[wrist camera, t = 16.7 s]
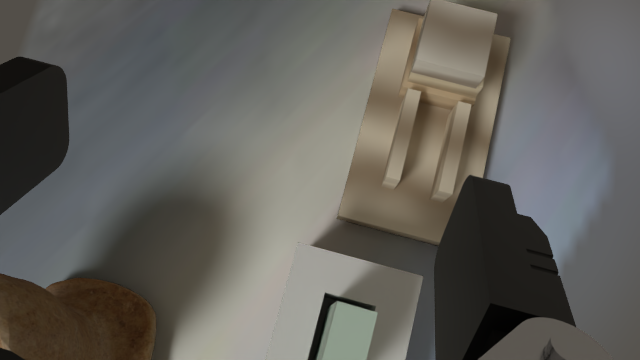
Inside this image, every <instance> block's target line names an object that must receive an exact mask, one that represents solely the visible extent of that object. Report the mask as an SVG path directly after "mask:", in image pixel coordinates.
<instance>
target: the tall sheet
mask: <svg viewBox="0 0 640 360" xmlns="http://www.w3.org/2000/svg"><path fill="white" fill-rule="evenodd" d="M377 314H378V312H374V311H370V310H367V309H363V308H360V307H356V306H353V305H349V304H346V303H342V302H339V301H337V302H335V303H333V304H332V305H330V306H328V307H327V311H326V315H325V318H324V322H323V326H322V330H321V333H320V337H319V341H318V345H317V348H316V352H315V356H314V360H366V359H367V355H368V351H369V347H370V343H371V339H372V334H373V330H374V326H375V322H376V318H377Z"/></svg>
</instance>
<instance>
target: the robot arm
mask: <svg viewBox="0 0 640 360" xmlns="http://www.w3.org/2000/svg"><path fill="white" fill-rule="evenodd" d="M68 145H69V123H68V100H67V80H66V75H65V73H64V71H63V69H62V68H61V67H59V66H56V65H52V64H48V63H44V62H40V61H36V60H33V59H29V58H25V57H16V58H14V59H11V60H9V61H7V62H5V63H3V64H1V65H0V215H1V214H2V213H3V212H4V211H6V210H7V209H8V208H9V207H11V206H12V205H13V204H14V203H15V202H17V201H18V200H19V199H20V198H22V197H23V196H24V195H25V194H26V193H28V192H29V191H30V190H31V189H33V188H34V187H35V186H36V185H38V184H39V183H40V182H41V181H42V180H44V179H45V178H46V177H47V176H49V175H50V174H51V173H52V172H53V171H55V170H56V169H57V168H58V167H59V166H60V165H61V163H62V162H63V160H64V158H65V156H66V153H67V150H68ZM434 288H435V351H436V360H613V358H612V357H611V356H610V354H609V353H608V352H607V351H606V350H605V349H604V348H603V347H602V346H601V345H600V344H599V343H598V342H597V341H595V340H594V339H593V338H592V337H591V336H589V335H588V334H586V333H585V332H583V331H581V330H580V329H578V328H576V325H575V322H574V319H573V316H572V313H571V310H570V306H569V303H568V300H567V297H566V294H565V291H564V288H563V284H562V281H561V278H560V276H558V269H557V266H556V263H555V260H554V259H553V253H552V250H551V247H550V244H549V241H548V238H547V236H546V235H545V234H544V232H543V231H542V230H541V229H540V228H539V226H538V225H537V224H536V223H535V222H534V221H533V219H532V218H531V217H528V216H524V215H520V214H517V211H516V207H515V203H514V199H513V195H512V192H511V188H510V186H509V185H507V184H504V183H500V182H496V181H492V180H488V179H485V178H481V177H477V176H473V175H469V176H468V177H467V178H466V180H465V181H464V183H463V186H462V188H461V191H460V193H459V196H458V198H457V201H456V203H455V206H454V208H453V211H452V213H451V216H450V218H449V221H448V223H447V226H446V228H445V231H444V233H443V236H442V238H441V241H440V244H439V247H438V251H437V255H436V260H435V267H434ZM0 360H25V359H23V358H22V357H20V356H18V355H17V354H15V353H14V352H12V351H10V350H6V349H3V348H0Z"/></svg>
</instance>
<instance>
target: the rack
mask: <svg viewBox="0 0 640 360" xmlns="http://www.w3.org/2000/svg"><path fill="white" fill-rule="evenodd" d="M419 18H422V19H423V18H424V16H420V15H416V14H412V13H408V12H404V11H400V10H396V9H392V12H391V16H390V19H389V23H388V27H387V31H386V34H385V38H384V42H383V46H382V50H381V53H380V57H379V61H378V65H377V69H376V72H375V76H374V80H373V84H372V88H371V91H370V95H369V99H368V103H367V107H366V110H365V114H364V118H363V122H362V125H361V129H360V133H359V137H358V141H357V144H356V148H355V152H354V156H353V160H352V163H351V167H350V171H349V175H348V179H347V182H346V186H345V190H344V194H343V198H342V201H341V205H340V209H339V213H338V217H337V219H340V220H344V221H347V222H351V223H355V224H359V225H362V226H366V227H370V228H374V229H377V230H381V231H385V232H388V233H392V234H396V235H400V236H403V237H407V238H411V239H415V240H418V241H422V242H426V243H430V244H433V245H437V246H439V244H440V241H441V238H442V236H443V233H444V231H445V228H446V226H447V223H448V221H449V218H450V216H451V213H452V211H453V208H454V206H455V203H456V201H457V198H458V196H459V193H460V191H461V188H462V186H463V183H464V181H465V180H466V178H467V177H468V176H469V175H473V176H477V177H481V178H483V174H484V169H485V164H486V159H487V154H488V149H489V144H490V139H491V134H492V129H493V124H494V119H495V114H496V109H497V104H498V99H499V94H500V89H501V84H502V79H503V74H504V69H505V65H506V60H507V55H508V50H509V45H510V40H511V38H508V37H504V36H500V35H496V34H494V35H493V40H492V44H491V49H490V54H489V59H488V64H487V68H486V73H485V78H484V83H483V87H482V89H481V90H480V92H479V93H478V94H477V96H476V99H475V104H474V106H473V107H472V108H471V105H472V104H468V103H464V102H460V101H458V102H457V104H456V105H455V107H454V108H453V109H452V110H448V109H444V108H441V107H437V106H433V105H429V104H425V103H421V102H419V99H420V95H421V91H417V90H413V89H409V88H408V90H407V92H406V94H405V96H404V98H402V97H398V94H399V90H400V86H401V82H402V78H403V74H404V70H405V66H406V62H407V58H408V54H409V50H410V46H411V42H412V38H413V34H414V30H415V28H416V25H417V22H418V20H419Z"/></svg>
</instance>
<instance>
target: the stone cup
mask: <svg viewBox="0 0 640 360" xmlns="http://www.w3.org/2000/svg"><path fill="white" fill-rule="evenodd" d="M155 337H156V314H155V312H154V310H153V308H152V307H151V305H150V304H149V303H148V302H147V301H146V300H145V299H144V298H142V297H141V296H140V295H138V294H136V293H135V292H133V291H131V290H129V289H127V288H124V287H122V286H120V285H118V284H115V283H111V282H107V281H103V280H98V279H89V278H73V279H69V280H65V281H60V282H56V283H53V284H51V285H50V286H48V287H47V288H46V289H44V288H42V287H40V286H38V285H36V284H34V283H32V282H29V281H26V280H23V279H18V278H14V277H11V276H7V275H4V274H0V348H3V349H6V350H10V351H12V352H14V353H15V354H17V355H18V356H20V357H22V358H23V359H25V360H151V358H152V354H153V349H154V343H155Z"/></svg>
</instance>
